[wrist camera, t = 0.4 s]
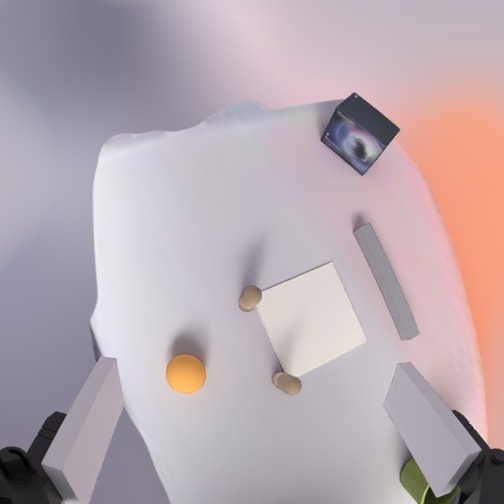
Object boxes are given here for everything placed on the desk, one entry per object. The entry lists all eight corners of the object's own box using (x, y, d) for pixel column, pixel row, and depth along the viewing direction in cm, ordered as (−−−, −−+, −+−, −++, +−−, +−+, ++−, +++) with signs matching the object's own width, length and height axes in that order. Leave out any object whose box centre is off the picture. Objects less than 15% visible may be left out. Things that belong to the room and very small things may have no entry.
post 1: (257, 307, 48) (265, 300, 40) (242, 314, 47) (247, 307, 40) (251, 293, 48) (257, 282, 41) (236, 299, 48) (239, 290, 40)
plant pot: (375, 479, 41) (408, 503, 31) (422, 430, 44) (462, 442, 34) (407, 508, 39) (439, 530, 29) (449, 462, 43) (486, 475, 32)
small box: (317, 141, 58) (334, 106, 48) (336, 124, 60) (354, 90, 49) (361, 177, 56) (385, 147, 46) (377, 158, 58) (401, 128, 48)
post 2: (290, 383, 45) (304, 389, 38) (275, 389, 45) (286, 397, 37) (284, 368, 46) (296, 373, 38) (269, 375, 45) (279, 381, 38)
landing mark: (366, 341, 48) (367, 341, 48) (288, 381, 45) (288, 381, 45) (331, 262, 51) (331, 261, 51) (251, 296, 48) (251, 295, 48)
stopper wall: (410, 334, 49) (419, 333, 46) (401, 340, 49) (411, 339, 46) (362, 229, 53) (369, 222, 51) (353, 232, 53) (360, 226, 50)
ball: (212, 382, 44) (211, 387, 39) (178, 395, 43) (172, 401, 38) (197, 348, 45) (195, 348, 40) (163, 361, 44) (156, 363, 39)
